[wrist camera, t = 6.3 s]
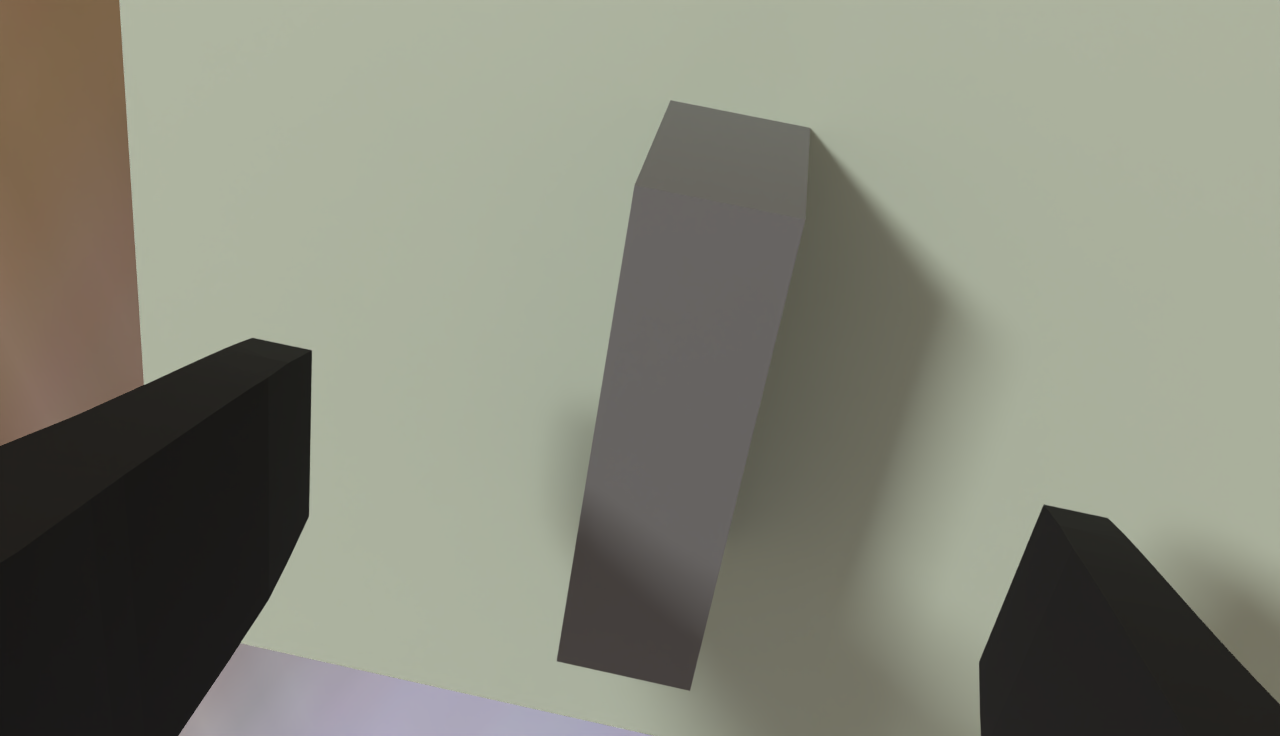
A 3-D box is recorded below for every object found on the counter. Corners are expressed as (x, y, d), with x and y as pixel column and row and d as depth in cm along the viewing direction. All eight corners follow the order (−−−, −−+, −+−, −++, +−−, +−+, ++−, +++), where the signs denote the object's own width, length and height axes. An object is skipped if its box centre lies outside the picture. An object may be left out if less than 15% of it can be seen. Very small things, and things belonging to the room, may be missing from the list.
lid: (1329, 837, 18) (1437, 1080, 15) (189, 584, 19) (56, 762, 16) (1938, -63, 12) (2374, 23, 8) (145, -389, 13) (-100, -428, 9)
